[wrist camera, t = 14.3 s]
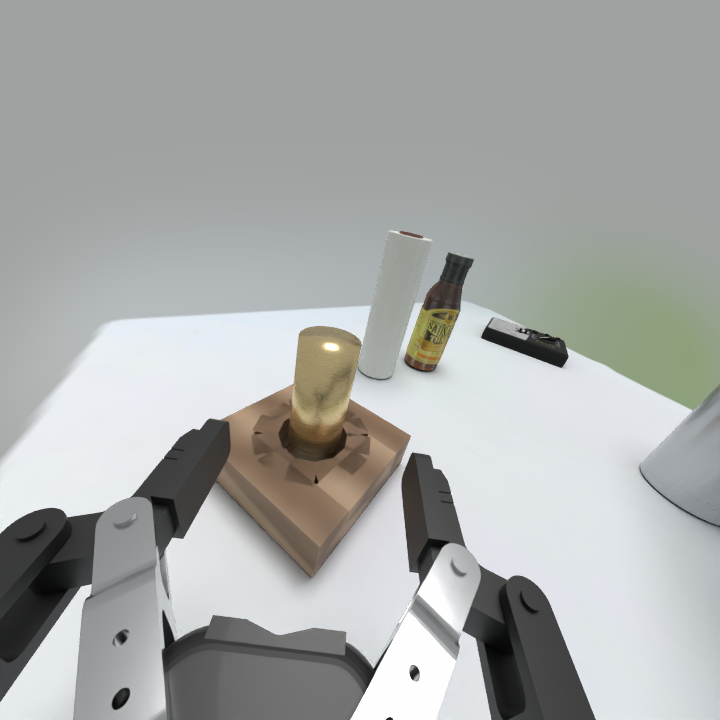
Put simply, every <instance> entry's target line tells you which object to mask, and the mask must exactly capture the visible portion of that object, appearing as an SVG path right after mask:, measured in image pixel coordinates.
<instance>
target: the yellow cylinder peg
mask: <svg viewBox="0 0 720 720" xmlns="http://www.w3.org/2000/svg"><path fill="white" fill-rule="evenodd" d="M360 350H361V342H360V340H359V339H358V338H357V337H356V336H355V335H353V334H351V333H349V332H347V331H344V330H342V329H338V328H333V327H326V326H315V327H309V328H306V329H304V330H302V331H301V332H300V334H299V339H298V348H297V358H296V367H295V376H294V386H293V395H292V405H291V414H290V423H289V433H288V442H287V451H288V452H289V453H290V454H291V455H293V456H294V457H295V458H299V459H303V460H308V461H313V462H317V461H322V460H326V459H330V458H334V457H335V456H336V455H337V451H338V447H339V442H340V438H341V434H342V429H343V425H344V420H345V416H346V412H347V407H348V403H349V398H350V394H351V390H352V385H353V381H354V377H355V372H356V368H357V363H358V359H359V355H360Z"/></svg>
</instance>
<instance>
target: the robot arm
mask: <svg viewBox="0 0 720 720" xmlns="http://www.w3.org/2000/svg"><path fill="white" fill-rule="evenodd" d="M230 449H231V441H230V425H229V422H228V421H222V420H216V419H208V420H207V421H206V423H205V424H204V425H203V426H202V428H201V429H200V430H196V429H192V430H191V431H189V432H188V433H186V434H185V435H183V436H182V437H180V438H179V440H178V441H177V442H176V443H175V444H174V446H173V447H172V449H171V450H170V451H169V452H168V453H167V454H166V455H165V457H164V459H162V460H161V462H160V463H159V464H158V465H157V467H156V468H155V469H154V470H153V471H152V473H151V474H150V475H149V476H148V478H147V479H146V480H145V481H144V482H143V484H142V485H141V486H140V487H139V489H138V490H137V491H136V492H135V493H134V494H133V496H131V497H130V498H127V499H124V500H122V501H119V502H117V503H116V504H114V505H112V506H111V507H110V508H108V509H107V510H106V511H104V512H99V513H93V514H87V515H80V516H74V517H67V516H66V514H65V513H64V512H63V511H62V510H60V509H57V508H46V509H41V510H38V511H34V512H32V513H29V514H27V515H25V516H23V517H21V518H20V519H18V520H16V521H15V522H14V523H12V524H11V525H10V526H8V527H7V528H6V529H5V530H4V531H3V532H2V533H1V534H0V702H1V700H2V699H3V697H4V696H5V694H6V693H7V691H8V690H9V689H10V687H11V686H12V684H13V683H14V681H15V680H16V679H17V677H18V676H19V674H20V673H21V671H22V670H23V669H24V667H25V666H26V664H27V663H28V661H29V660H30V659H31V657H32V656H33V654H34V653H35V651H36V650H37V649H38V647H39V646H40V644H41V643H42V641H43V640H44V639H45V637H46V636H47V634H48V633H49V631H50V630H51V629H52V627H53V626H54V624H55V623H56V621H57V620H58V619H59V617H60V616H61V614H62V613H63V611H64V610H65V609H66V607H67V606H68V604H69V603H70V601H71V600H72V599H73V597H74V596H75V594H76V593H77V591H78V590H79V589H80V587H81V586H85V585H89V584H92V589H91V594H90V597H88V598H86V600H85V602H84V605H83V610H82V619H81V632H80V644H79V656H78V668H77V680H76V692H75V704H74V716H73V720H435V719H436V716H437V713H438V710H439V707H440V705H441V702H442V699H443V696H444V693H445V690H446V688H447V685H448V682H449V679H450V676H451V674H452V671H453V668H454V665H455V662H456V659H457V656H458V653H459V644H458V641H459V638H460V635H461V632H462V631H464V632H466V633H467V634H469V635H471V636H473V637H474V638H476V641H477V646H478V652H479V657H480V662H481V667H482V672H483V678H484V683H485V688H486V693H487V698H488V703H489V709H490V714H491V719H492V720H596V719H595V717H594V714H593V712H592V709H591V707H590V704H589V702H588V699H587V697H586V694H585V692H584V689H583V686H582V684H581V681H580V679H579V676H578V674H577V671H576V669H575V666H574V664H573V661H572V659H571V656H570V654H569V651H568V649H567V646H566V643H565V641H564V638H563V636H562V633H561V631H560V628H559V626H558V623H557V621H556V618H555V616H554V613H553V611H552V608H551V605H550V603H549V601H548V599H547V598H546V596H545V595H544V593H543V592H542V591H541V589H540V588H539V587H538V586H537V585H536V584H535V583H533V582H532V581H531V580H529V579H527V578H525V577H523V576H513V577H511V578H510V579H509V580H506V579H504V578H502V577H500V576H498V575H496V574H494V573H492V572H490V571H488V570H487V569H485V568H483V567H482V566H481V565H479V564H478V562H477V561H476V559H475V557H474V556H473V555H472V554H471V552H470V551H468V550H467V548H466V546H465V543H464V540H463V536H462V532H461V529H460V525H459V521H458V517H457V514H456V510H455V506H454V505H453V503H454V502H453V499H452V495H451V491H450V487H449V484H448V481H447V479H446V477H445V476H444V474H443V473H442V471H441V470H439V469H433V465H432V460H431V457H430V456H429V455H425V454H419V453H412V454H411V456H410V458H409V461H408V463H407V466H406V468H405V471H404V473H403V477H402V499H403V509H404V519H405V529H406V539H407V549H408V559H409V569H410V572H415V573H419V580H420V584H419V586H418V588H417V590H416V591H415V593H414V595H413V597H412V599H411V601H410V602H409V604H408V606H407V608H406V610H405V612H404V613H403V615H402V617H401V619H400V621H399V623H398V624H397V626H396V628H395V630H394V632H393V633H392V635H391V637H390V639H389V640H388V642H387V644H386V646H385V647H384V649H383V651H382V653H381V654H380V656H379V658H378V660H377V662H376V664H375V665H374V667H372V666H371V664H370V663H369V662H368V660H367V659H366V658H365V657H364V656H363V655H362V654H361V653H360V652H359V651H358V650H357V649H356V648H355V647H353V646H352V645H350V644H349V643H347V642H346V632H342V631H334V630H326V629H318V628H312V629H307V630H303V631H298V632H294V633H289V634H285V635H275V634H273V633H271V632H269V631H267V630H266V629H264V628H262V627H260V626H258V625H256V624H254V623H252V622H250V621H249V620H247V619H239V618H231V617H223V616H215V615H213V617H212V619H211V622H210V625H209V626H205V627H202V628H199V629H196V630H194V631H192V632H190V633H188V634H186V635H184V636H182V637H181V638H179V639H178V640H177V632H176V625H175V619H174V614H173V609H172V602H171V594H170V585H169V576H168V567H167V558H166V550H165V549H166V547H167V546H168V544H169V542H170V541H171V539H172V537H173V538H181V539H183V538H184V536H185V534H186V533H187V531H188V529H189V527H190V525H191V524H192V522H193V520H194V518H195V517H196V515H197V513H198V511H199V509H200V508H201V506H202V504H203V502H204V501H205V499H206V497H207V495H208V493H209V492H210V490H211V488H212V486H213V485H214V483H215V481H216V479H217V477H218V476H219V474H220V472H221V470H222V469H223V467H224V465H225V463H226V461H227V459H228V457H229V454H230ZM640 469H641V472H642V474H643V475H644V477H645V478H646V479H647V480H648V481H649V483H650V484H651V485H652V486H653V487H655V488H656V489H657V490H658V491H659V492H660V493H661V494H663V495H664V496H665V497H666V498H668V499H669V500H671V501H672V502H673V503H675V504H676V505H678V506H679V507H681V508H683V509H684V510H686V511H688V512H689V513H691V514H693V515H695V516H697V517H699V518H701V519H703V520H705V521H708V522H710V523H713V524H716V525H719V526H720V384H719V386H717V387H716V388H715V389H714V391H712V392H711V393H710V394H709V395H708V396H707V398H706V399H705V400H704V401H703V402H702V403H701V404H700V405H699V406H698V407H697V408H696V409H695V410H693V411H692V412H691V413H690V414H689V415H688V416H687V417H686V418H685V420H684V421H683V422H682V423H681V424H680V425H679V426H678V427H677V428H676V429H675V430H674V431H673V432H672V433H671V434H670V435H669V436H668V437H667V438H666V439H665V440H664V441H663V442H662V443H661V444H660V445H659V446H658V447H657V448H656V449H655V450H654V451H653V452H652V453H651V454H650V455H649V456H648V457H647V458H646V459H645V460H644V461H643V462H642V464H641V465H640Z"/></svg>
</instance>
